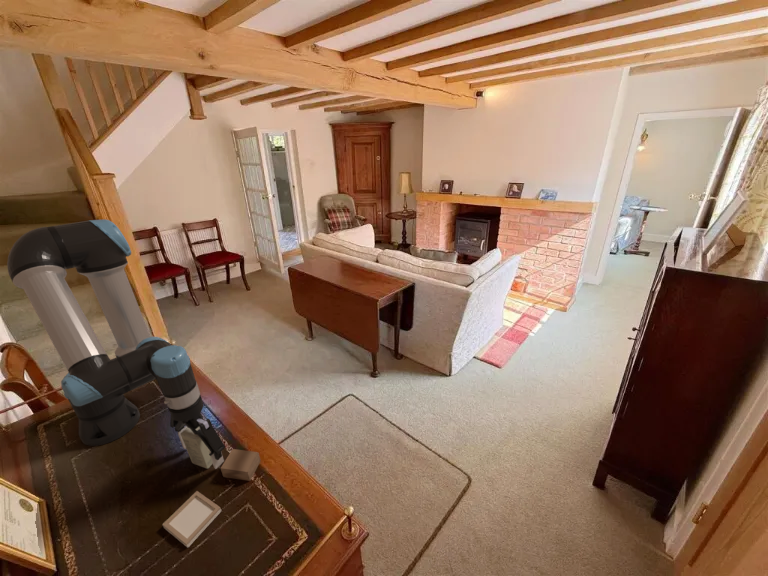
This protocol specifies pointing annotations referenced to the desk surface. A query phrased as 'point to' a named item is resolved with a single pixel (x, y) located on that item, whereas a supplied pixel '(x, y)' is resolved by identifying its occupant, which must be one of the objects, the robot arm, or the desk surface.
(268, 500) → the desk surface
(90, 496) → the desk surface
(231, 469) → the walnut box
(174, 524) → the picture frame
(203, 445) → the skincare box
